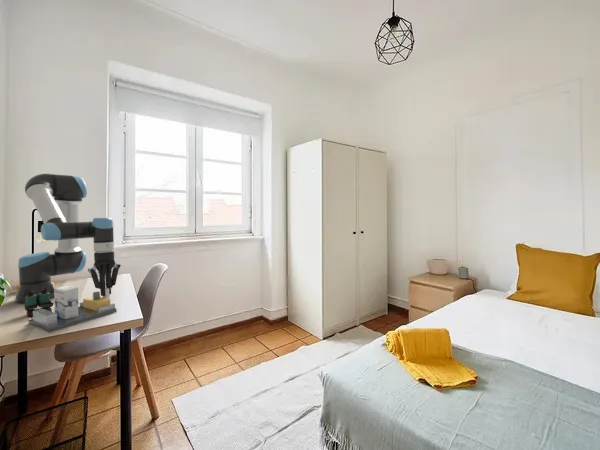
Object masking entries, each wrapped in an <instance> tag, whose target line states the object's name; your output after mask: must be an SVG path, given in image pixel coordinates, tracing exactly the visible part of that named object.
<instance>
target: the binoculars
mask: <svg viewBox="0 0 600 450" xmlns="http://www.w3.org/2000/svg"><path fill="white" fill-rule="evenodd" d="M41 291H42V293H39V294H37V295H36V294H34V295H33V293H34V291H27V294H28V296H26V297H25V303H24V310H25V311H26V315H27V317H28V318H33V311H35V310H39V309H45V310H48V311H51V312H53V310H52V307H53V306H54V305H55V302H52V300H51V298H50V294H49V292H47V288H44V289H42V290H41Z"/></svg>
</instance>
